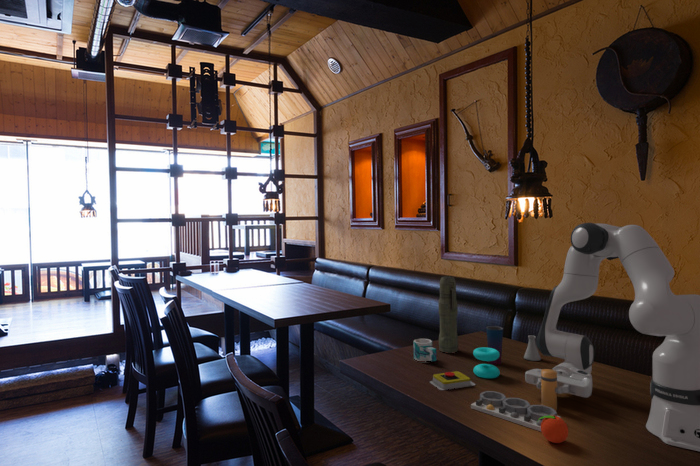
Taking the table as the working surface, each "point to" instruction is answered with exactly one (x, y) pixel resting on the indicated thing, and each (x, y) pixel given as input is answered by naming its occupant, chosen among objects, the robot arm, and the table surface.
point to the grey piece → (512, 409)
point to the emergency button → (451, 380)
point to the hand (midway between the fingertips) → (548, 388)
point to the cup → (495, 341)
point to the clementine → (554, 429)
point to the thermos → (448, 315)
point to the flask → (532, 350)
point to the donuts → (486, 369)
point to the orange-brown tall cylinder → (549, 388)
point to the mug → (424, 350)
